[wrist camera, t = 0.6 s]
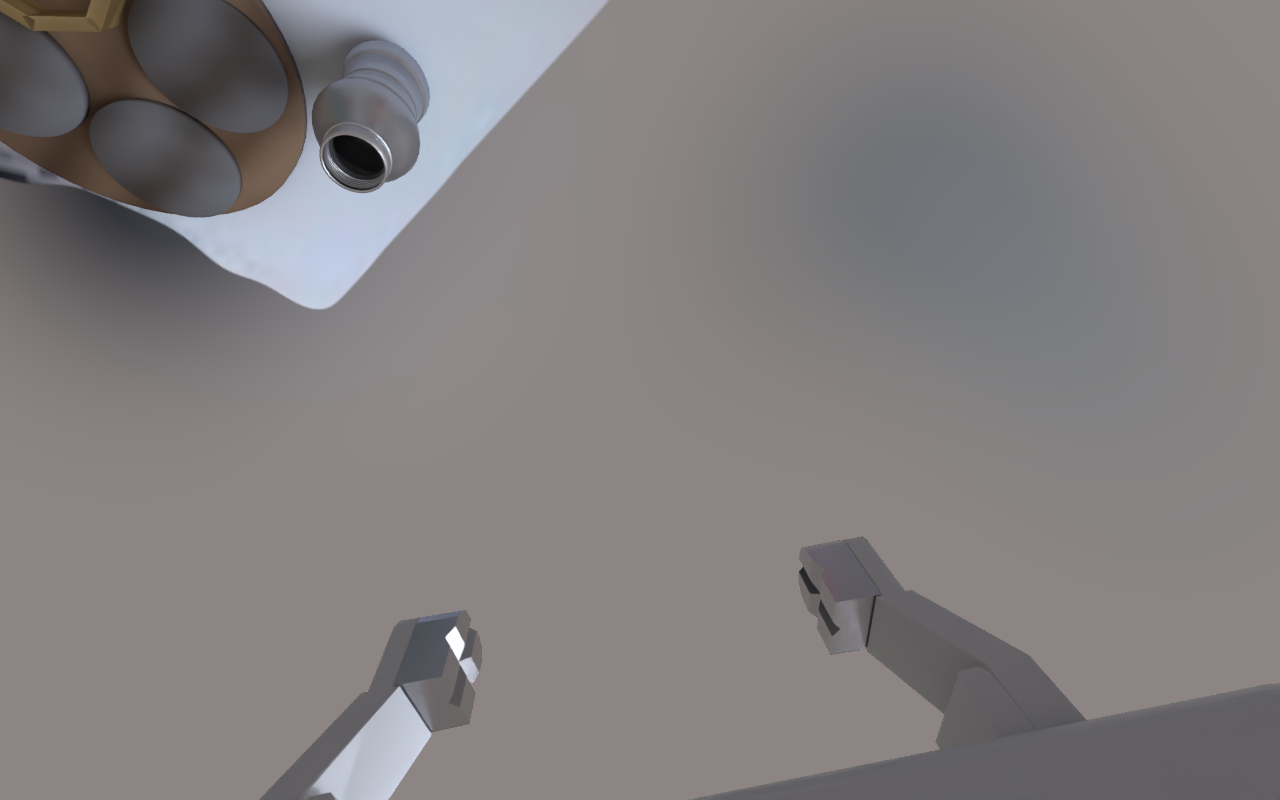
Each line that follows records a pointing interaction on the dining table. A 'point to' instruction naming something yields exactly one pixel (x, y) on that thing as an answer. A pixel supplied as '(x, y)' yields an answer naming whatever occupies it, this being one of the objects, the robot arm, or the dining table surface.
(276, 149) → the wooden stone platter
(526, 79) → the dining table surface
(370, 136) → the plastic bottle
